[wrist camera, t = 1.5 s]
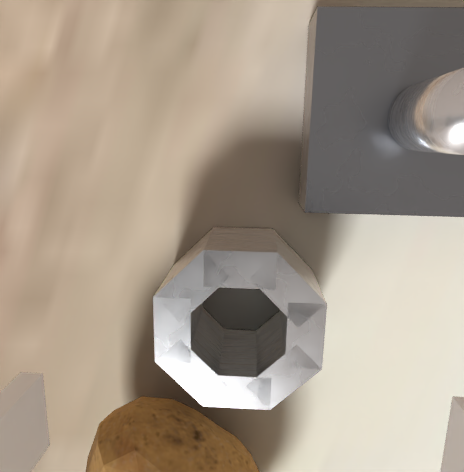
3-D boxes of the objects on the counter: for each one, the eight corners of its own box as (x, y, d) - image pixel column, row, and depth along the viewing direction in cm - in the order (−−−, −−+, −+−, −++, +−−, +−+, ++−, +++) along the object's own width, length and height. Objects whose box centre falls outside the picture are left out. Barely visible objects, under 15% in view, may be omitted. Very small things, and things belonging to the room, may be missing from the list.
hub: (174, 353, 26) (155, 404, 21) (172, 225, 24) (151, 248, 19) (306, 359, 25) (318, 412, 20) (314, 229, 23) (330, 254, 18)
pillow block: (298, 202, 23) (320, 236, 15) (308, 25, 21) (340, -42, 13) (484, 207, 22) (605, 245, 15) (514, 26, 20) (673, -42, 13)
